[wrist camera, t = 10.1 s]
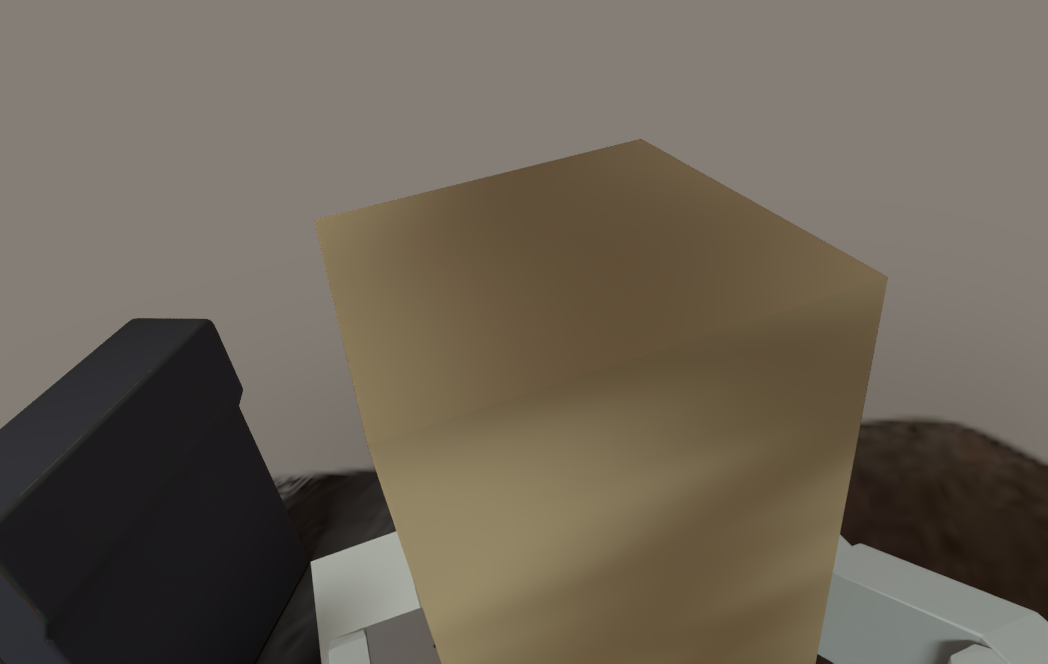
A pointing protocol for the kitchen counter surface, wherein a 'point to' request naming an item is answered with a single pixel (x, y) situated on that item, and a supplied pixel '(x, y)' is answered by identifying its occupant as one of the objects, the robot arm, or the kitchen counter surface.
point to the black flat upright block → (141, 511)
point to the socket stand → (361, 588)
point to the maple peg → (607, 409)
